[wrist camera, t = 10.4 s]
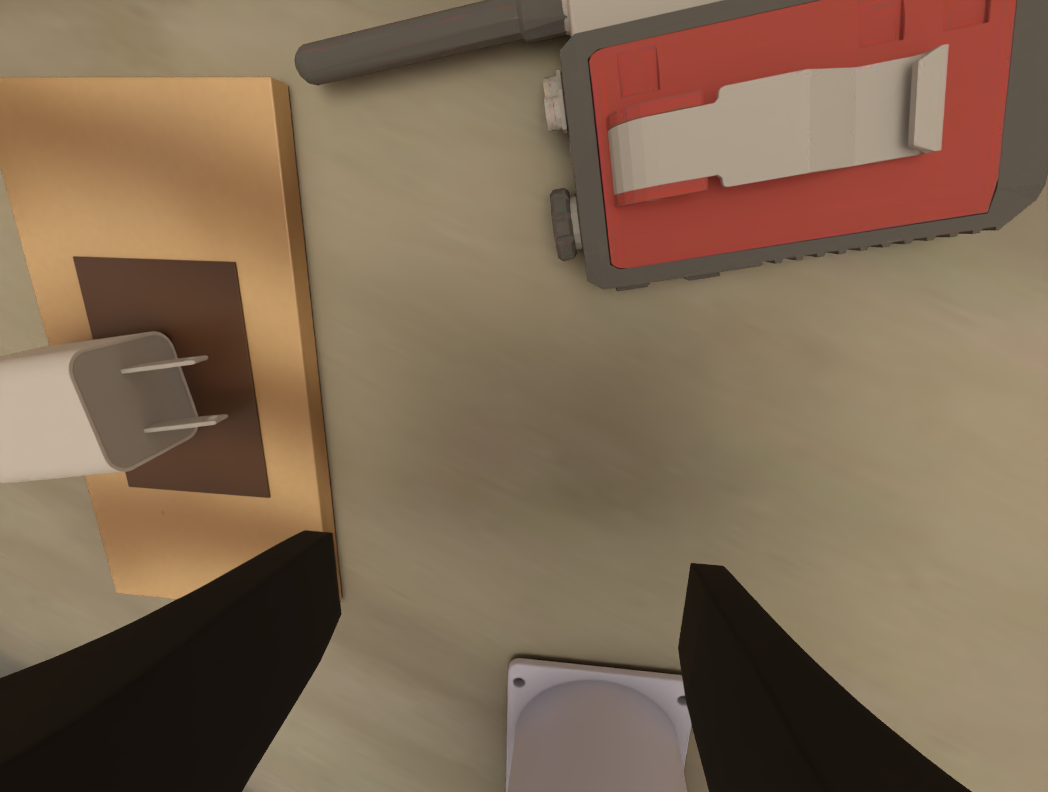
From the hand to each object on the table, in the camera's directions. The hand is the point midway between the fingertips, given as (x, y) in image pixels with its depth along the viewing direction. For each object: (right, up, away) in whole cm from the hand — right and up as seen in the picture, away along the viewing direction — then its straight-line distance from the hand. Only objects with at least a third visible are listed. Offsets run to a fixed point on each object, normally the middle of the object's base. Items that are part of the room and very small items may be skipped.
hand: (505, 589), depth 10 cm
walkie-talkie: (+4, +12, +6) cm, 14 cm away
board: (-12, +5, +10) cm, 16 cm away
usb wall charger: (-13, +4, +9) cm, 16 cm away
